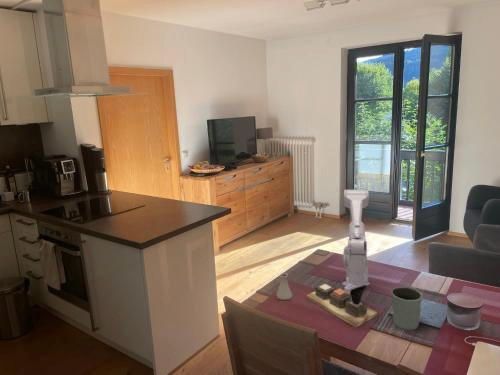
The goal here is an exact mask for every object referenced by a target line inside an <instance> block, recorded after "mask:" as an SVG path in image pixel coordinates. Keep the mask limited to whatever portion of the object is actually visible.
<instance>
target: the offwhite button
mask: <svg viewBox="0 0 500 375" xmlns="http://www.w3.org/2000/svg"><path fill="white" fill-rule="evenodd" d="M319 288H320V289H322V290H324V291H327V290H329V289H331V288H332V287H330V286H328V285H326V284H325V283H324V285H322V286H319Z"/></svg>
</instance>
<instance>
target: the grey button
mask: <svg viewBox="0 0 500 375" xmlns="http://www.w3.org/2000/svg"><path fill="white" fill-rule="evenodd" d="M349 304H350V305H352V306H354V307H356V308H358V307H360V306H362V305H363V303H362V302H360V303H359V304H358V305H357V304H355V303H353V301H351V302H349Z"/></svg>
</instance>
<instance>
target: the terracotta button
mask: <svg viewBox="0 0 500 375" xmlns="http://www.w3.org/2000/svg"><path fill="white" fill-rule="evenodd" d="M347 294H348V293H345V292H344V289H342V288H338V289H337V288H336V289H335V291H333V295H334V296H335V297H337V298H339V299H342V298H344V297H346V296H347Z"/></svg>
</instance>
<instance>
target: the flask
mask: <svg viewBox="0 0 500 375" xmlns="http://www.w3.org/2000/svg"><path fill="white" fill-rule="evenodd" d="M288 277H289V276H288V273H285V272H283V273H282V272H281V273H280V283H279V286H278V289H277V291H276V295H275V296H276V299H277V300H281V301H290V300H292V298H294V296H293V293H292V291H291V288H290V285H289V283H288Z"/></svg>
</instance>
